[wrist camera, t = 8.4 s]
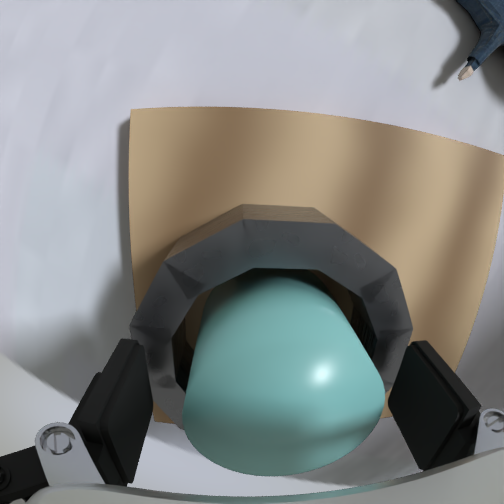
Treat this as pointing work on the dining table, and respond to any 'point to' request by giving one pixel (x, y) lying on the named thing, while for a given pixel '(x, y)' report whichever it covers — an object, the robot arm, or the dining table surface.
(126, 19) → the dining table surface
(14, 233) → the dining table surface
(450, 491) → the robot arm
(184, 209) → the board
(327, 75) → the dining table surface
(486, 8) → the toy
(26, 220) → the dining table surface
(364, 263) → the faceted gray ring
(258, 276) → the teal rounded tetrahedron
